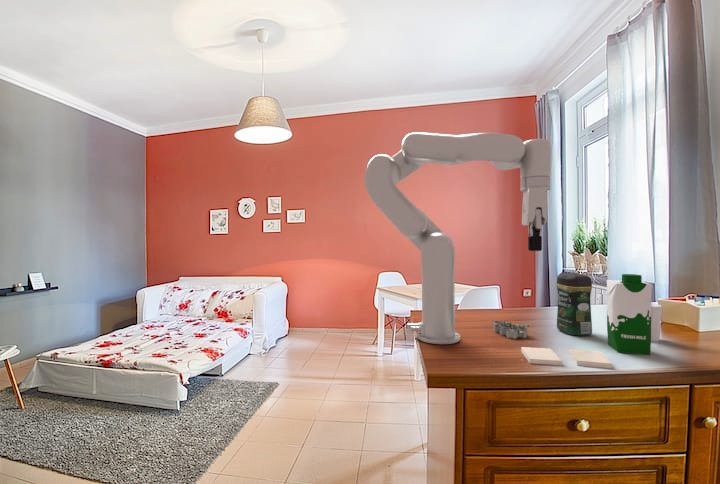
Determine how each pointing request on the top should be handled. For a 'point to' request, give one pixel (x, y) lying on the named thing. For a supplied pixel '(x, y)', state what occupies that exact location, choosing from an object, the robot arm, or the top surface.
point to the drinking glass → (655, 322)
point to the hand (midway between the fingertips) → (534, 250)
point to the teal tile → (541, 356)
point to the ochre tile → (589, 358)
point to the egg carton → (510, 329)
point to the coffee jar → (574, 304)
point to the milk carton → (629, 314)
